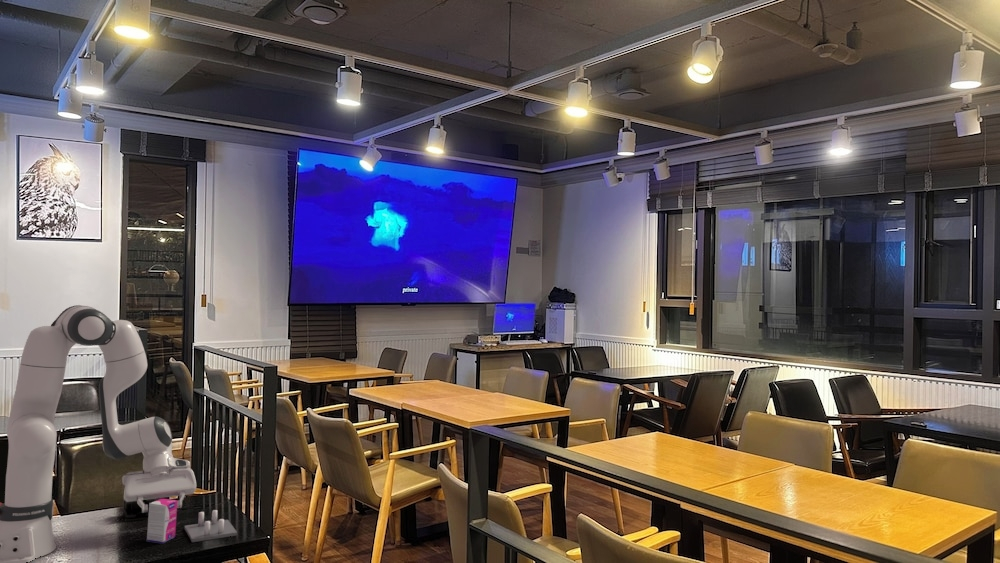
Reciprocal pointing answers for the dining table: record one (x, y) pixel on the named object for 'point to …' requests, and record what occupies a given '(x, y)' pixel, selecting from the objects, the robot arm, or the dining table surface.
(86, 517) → the dining table surface
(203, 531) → the pin tray
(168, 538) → the supplement box
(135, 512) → the end cap
